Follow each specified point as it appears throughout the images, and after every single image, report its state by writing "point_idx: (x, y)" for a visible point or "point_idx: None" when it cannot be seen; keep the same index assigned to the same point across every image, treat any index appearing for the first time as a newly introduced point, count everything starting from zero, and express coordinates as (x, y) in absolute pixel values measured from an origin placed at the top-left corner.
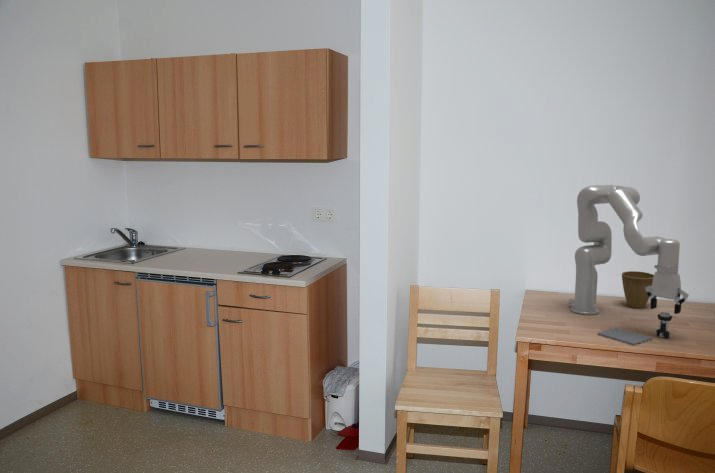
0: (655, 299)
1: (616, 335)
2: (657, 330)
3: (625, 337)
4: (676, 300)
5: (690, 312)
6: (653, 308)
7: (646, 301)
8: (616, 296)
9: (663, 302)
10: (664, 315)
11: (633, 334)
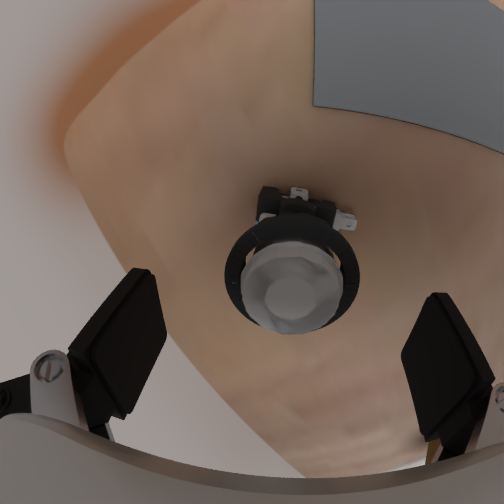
0: (439, 419)
1: (451, 12)
2: (329, 207)
3: (408, 3)
4: (44, 404)
5: (326, 459)
6: (422, 310)
7: (431, 446)
8: None
9: (392, 464)
10: (275, 252)
11: (416, 85)
